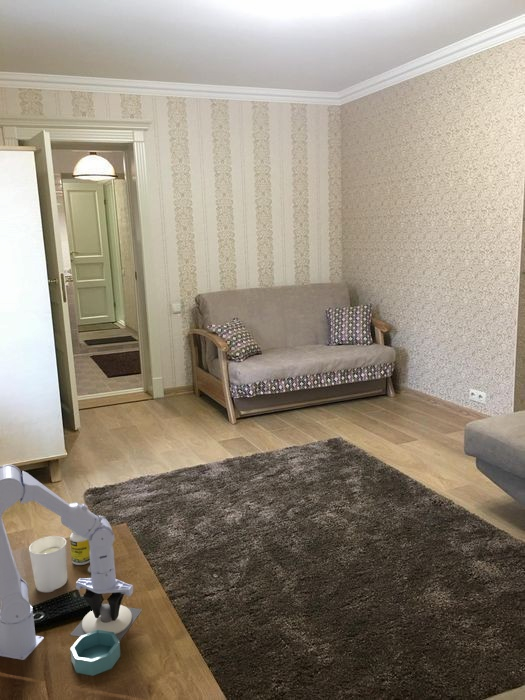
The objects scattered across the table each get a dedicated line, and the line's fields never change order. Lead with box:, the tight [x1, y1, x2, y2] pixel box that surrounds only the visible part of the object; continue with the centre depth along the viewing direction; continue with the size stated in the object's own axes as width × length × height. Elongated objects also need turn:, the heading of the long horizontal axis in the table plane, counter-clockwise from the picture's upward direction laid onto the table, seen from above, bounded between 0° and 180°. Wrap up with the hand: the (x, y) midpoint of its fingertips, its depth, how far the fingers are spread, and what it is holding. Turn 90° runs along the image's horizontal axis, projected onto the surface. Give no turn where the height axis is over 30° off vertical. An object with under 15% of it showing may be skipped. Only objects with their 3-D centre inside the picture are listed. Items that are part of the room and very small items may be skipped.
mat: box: [69, 603, 143, 643], centre depth 149 cm, size 13×13×1 cm
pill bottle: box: [69, 530, 90, 566], centre depth 178 cm, size 6×6×11 cm
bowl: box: [69, 630, 121, 677], centre depth 136 cm, size 10×10×4 cm
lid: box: [81, 603, 132, 635], centre depth 149 cm, size 12×12×4 cm
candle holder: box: [28, 535, 68, 593], centre depth 166 cm, size 10×10×12 cm
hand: (106, 617), depth 149 cm, fingers open, 4 cm apart
